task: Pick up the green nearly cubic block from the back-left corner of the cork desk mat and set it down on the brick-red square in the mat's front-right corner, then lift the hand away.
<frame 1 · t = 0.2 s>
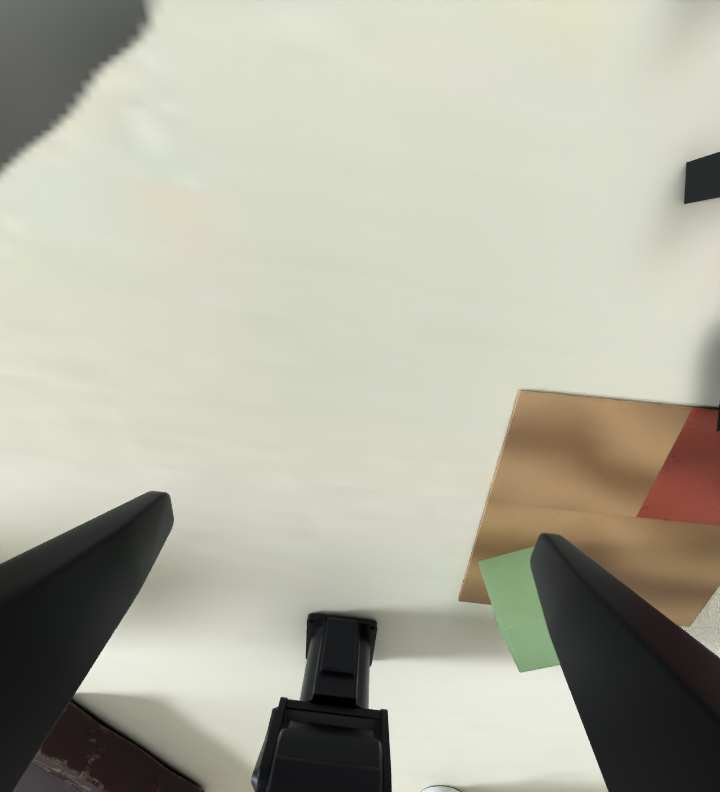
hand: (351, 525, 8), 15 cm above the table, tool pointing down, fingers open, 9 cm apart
cork mat: (615, 524, 26), on the table
teacup: (434, 789, 44), on the table
green nearly cubic block: (516, 573, 28), resting on cork mat
diary: (99, 755, 45), on the table
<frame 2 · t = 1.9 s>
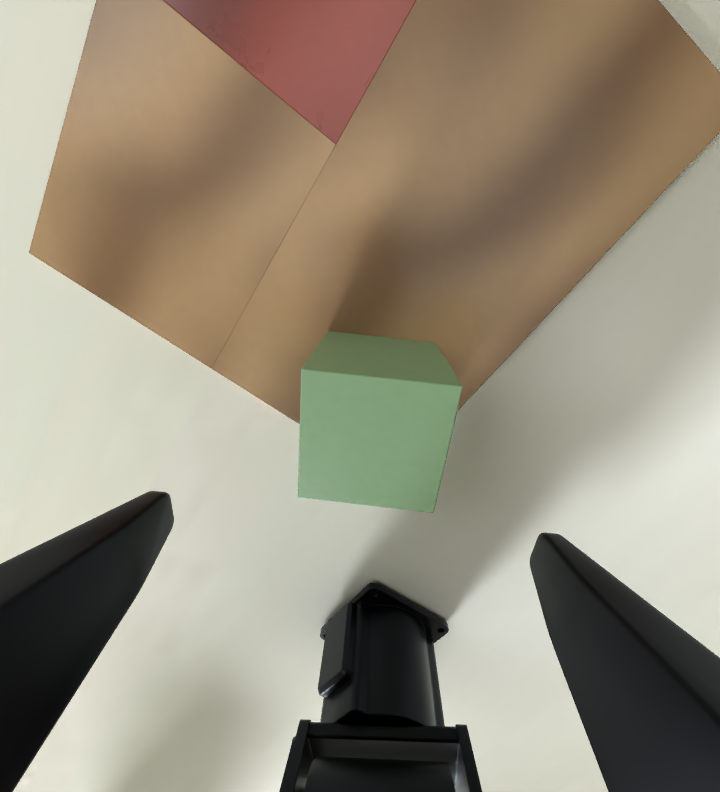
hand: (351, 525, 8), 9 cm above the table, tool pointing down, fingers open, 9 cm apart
cork mat: (343, 188, 13), on the table
green nearly cubic block: (375, 387, 16), resting on cork mat
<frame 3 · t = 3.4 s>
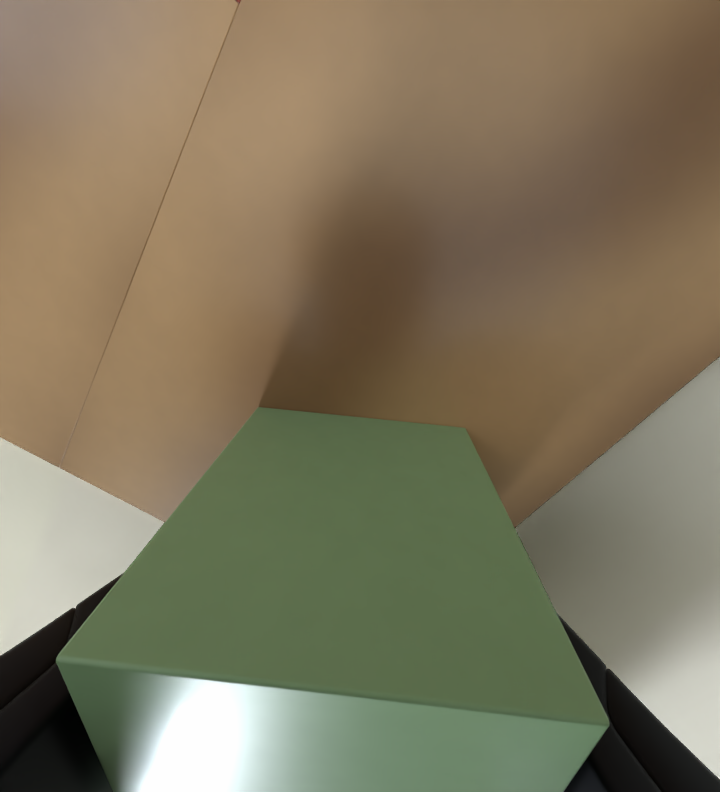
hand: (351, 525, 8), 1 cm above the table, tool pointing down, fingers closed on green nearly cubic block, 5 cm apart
cork mat: (267, 116, 6), on the table
green nearly cubic block: (353, 499, 9), resting on cork mat, touching gripper
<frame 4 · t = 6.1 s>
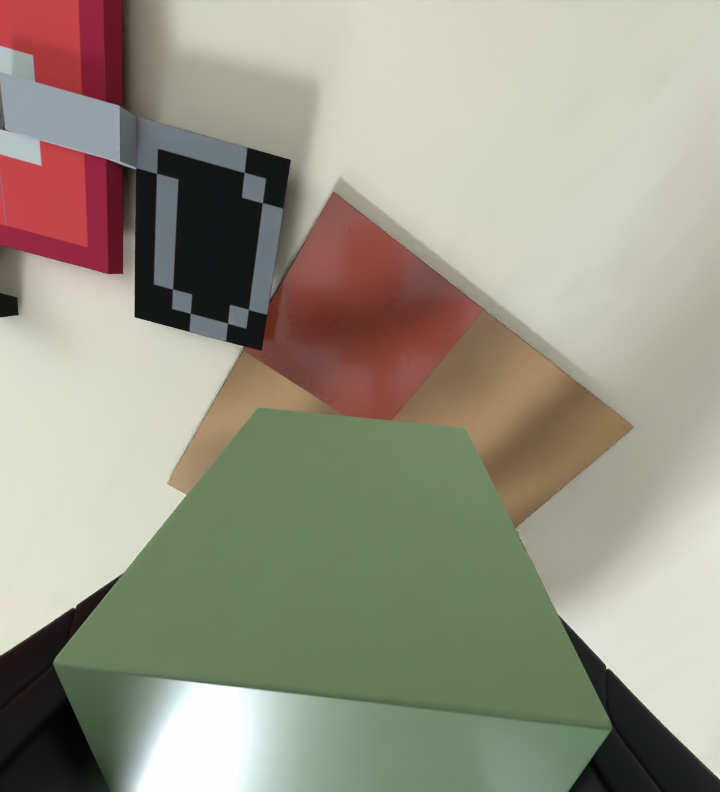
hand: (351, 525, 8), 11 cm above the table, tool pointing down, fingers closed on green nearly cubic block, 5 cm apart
cork mat: (381, 456, 20), on the table
green nearly cubic block: (353, 500, 9), point 10 cm above the table, touching gripper
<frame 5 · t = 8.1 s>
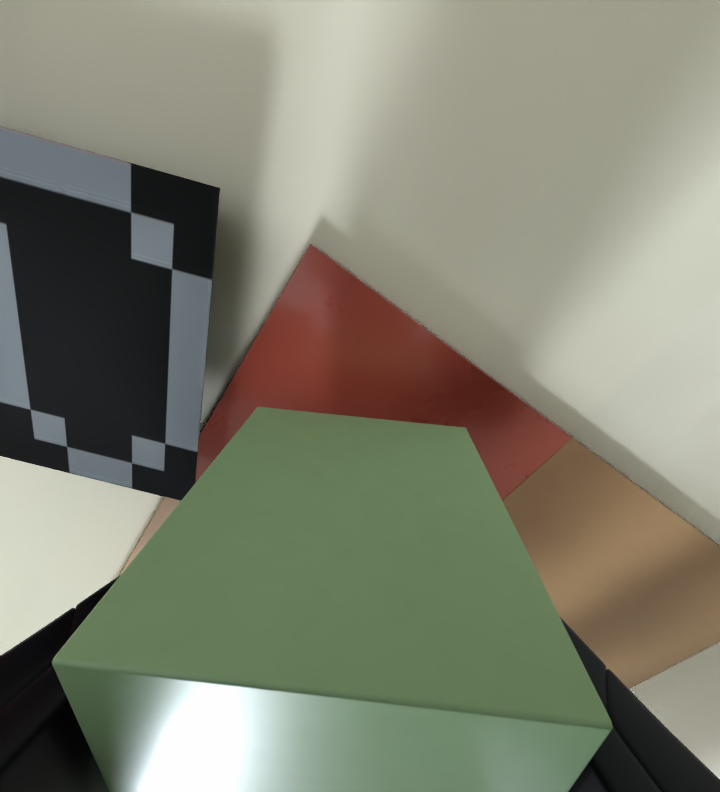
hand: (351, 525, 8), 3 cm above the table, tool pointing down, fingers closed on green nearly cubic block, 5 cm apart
cork mat: (391, 621, 14), on the table
green nearly cubic block: (353, 500, 9), point 2 cm above the table, touching gripper
when the fingers open (1 cm above the table, at t = 9.1 s): green nearly cubic block stays where it is, resting on cork mat.
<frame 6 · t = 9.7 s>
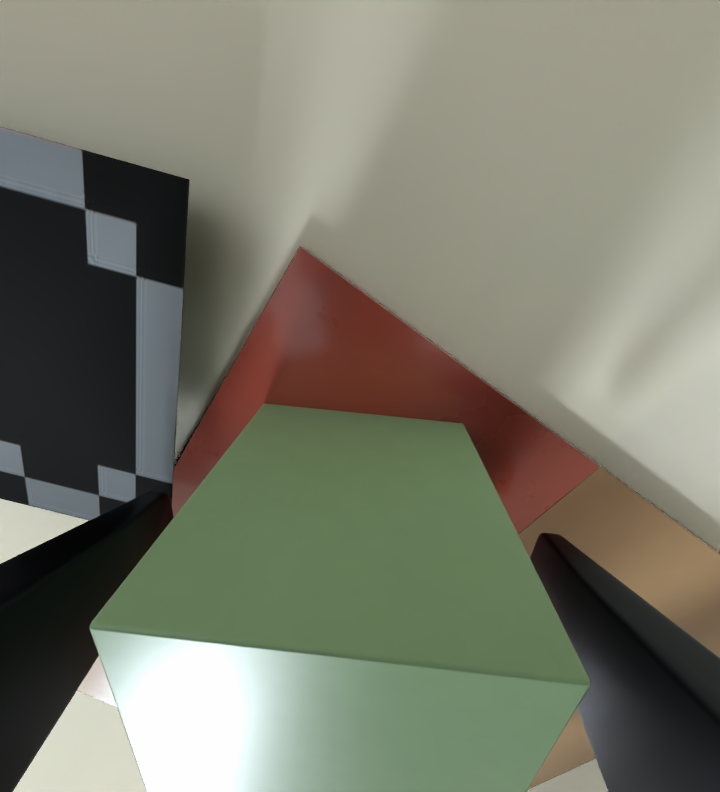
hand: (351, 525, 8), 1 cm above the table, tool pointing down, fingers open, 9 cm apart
cork mat: (393, 659, 12), on the table
green nearly cubic block: (355, 493, 9), resting on cork mat
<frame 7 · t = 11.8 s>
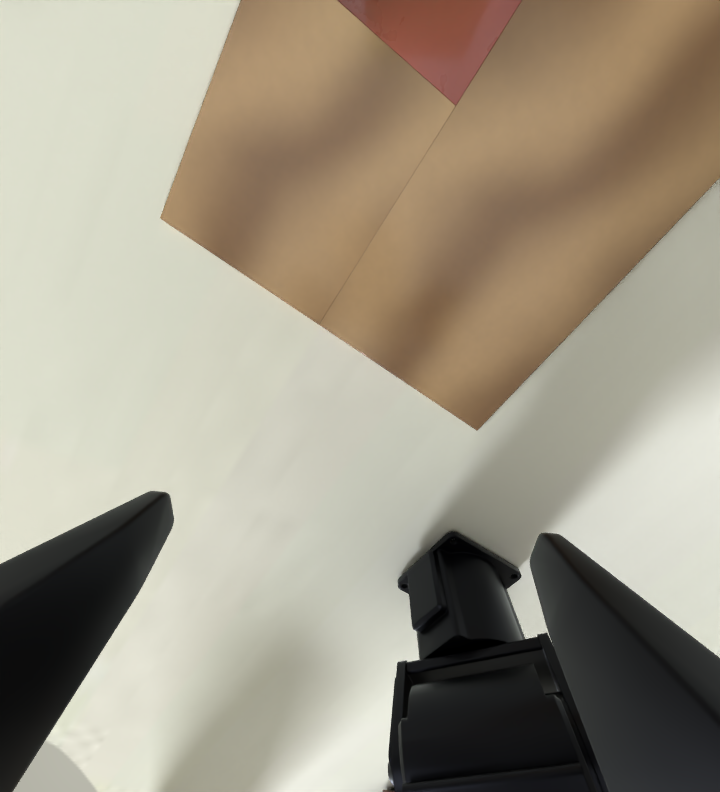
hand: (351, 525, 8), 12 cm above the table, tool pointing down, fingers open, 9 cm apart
cork mat: (457, 147, 15), on the table
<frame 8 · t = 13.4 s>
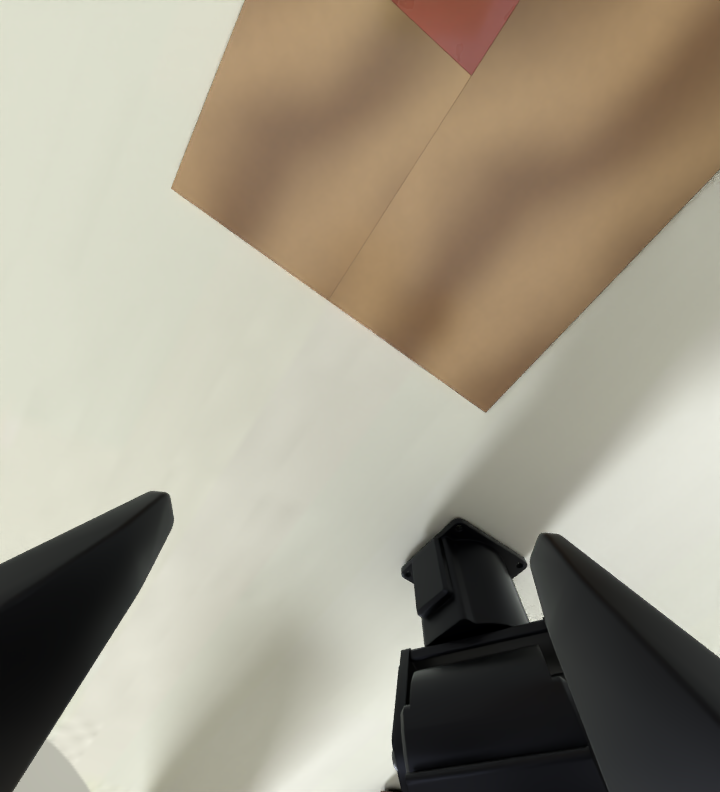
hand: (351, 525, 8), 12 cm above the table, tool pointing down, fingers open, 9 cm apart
cork mat: (472, 119, 15), on the table
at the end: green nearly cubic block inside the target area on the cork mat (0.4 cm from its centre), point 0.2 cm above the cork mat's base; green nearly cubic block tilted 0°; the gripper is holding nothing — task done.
